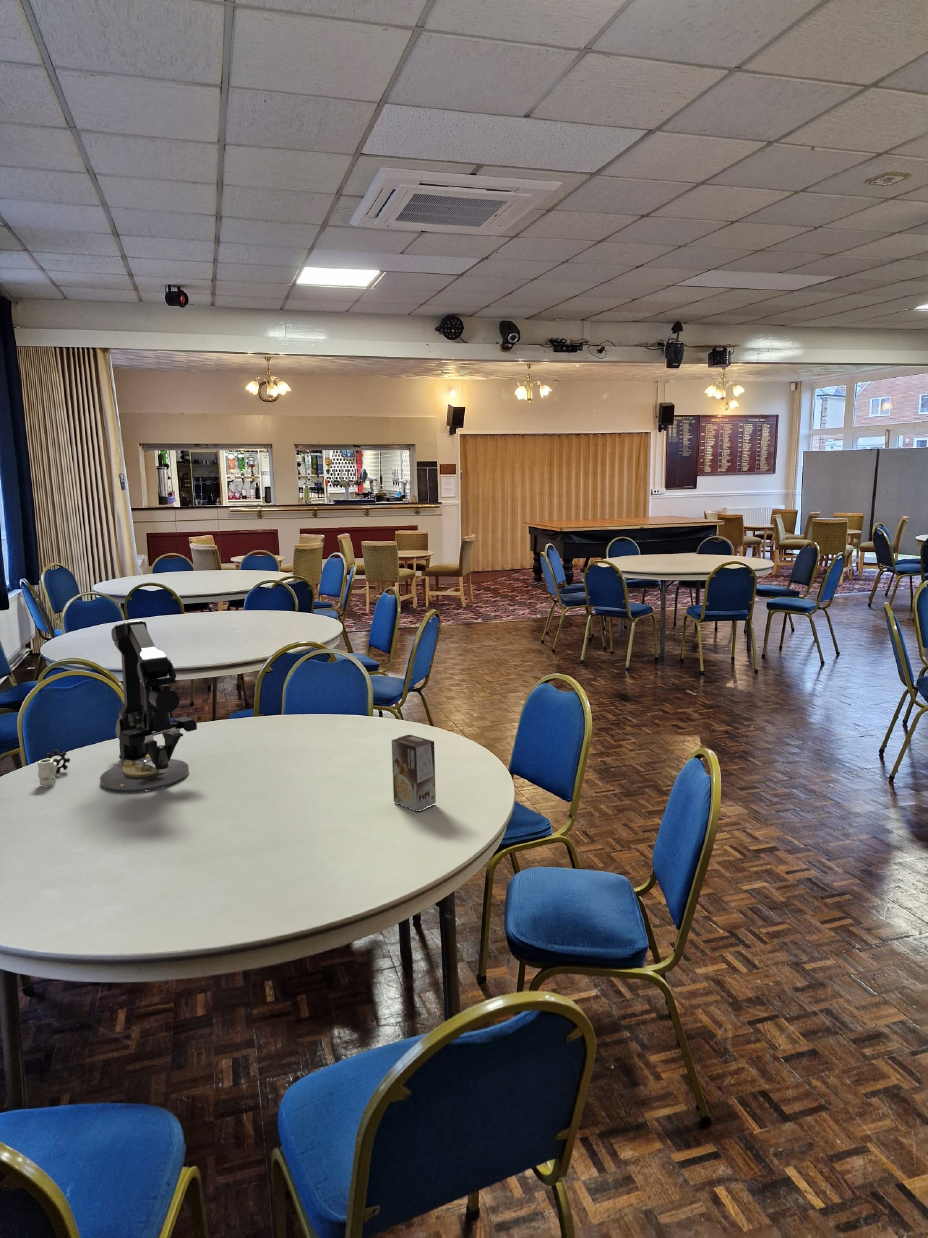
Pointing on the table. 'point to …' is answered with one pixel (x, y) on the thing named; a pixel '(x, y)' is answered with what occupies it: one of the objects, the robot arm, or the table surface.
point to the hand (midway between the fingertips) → (161, 762)
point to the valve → (51, 768)
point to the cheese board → (147, 765)
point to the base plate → (144, 778)
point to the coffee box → (413, 772)
